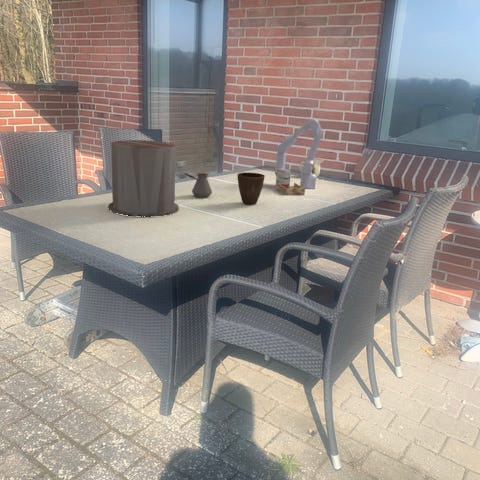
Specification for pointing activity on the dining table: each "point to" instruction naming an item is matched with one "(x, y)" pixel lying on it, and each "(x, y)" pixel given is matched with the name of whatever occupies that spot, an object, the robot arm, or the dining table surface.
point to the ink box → (283, 177)
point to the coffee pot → (201, 186)
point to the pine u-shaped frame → (291, 190)
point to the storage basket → (143, 178)
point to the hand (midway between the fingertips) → (279, 183)
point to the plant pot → (250, 187)
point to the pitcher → (314, 166)
